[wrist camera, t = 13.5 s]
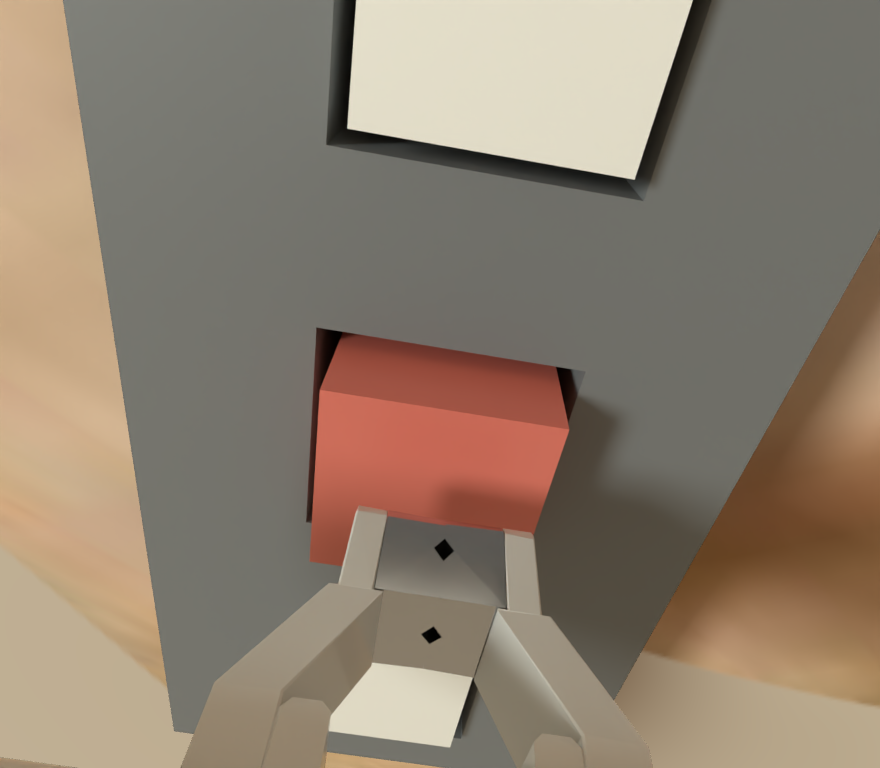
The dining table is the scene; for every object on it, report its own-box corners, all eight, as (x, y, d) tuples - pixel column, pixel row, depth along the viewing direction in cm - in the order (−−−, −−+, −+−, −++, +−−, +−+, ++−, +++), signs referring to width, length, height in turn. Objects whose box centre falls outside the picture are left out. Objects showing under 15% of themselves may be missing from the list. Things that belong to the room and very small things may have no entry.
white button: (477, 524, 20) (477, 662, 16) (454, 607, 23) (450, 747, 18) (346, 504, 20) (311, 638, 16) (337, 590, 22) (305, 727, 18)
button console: (935, -251, 10) (1246, -421, 6) (551, 648, 24) (566, 784, 20) (176, -412, 10) (-47, -717, 6) (227, 601, 24) (174, 731, 20)
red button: (542, 307, 15) (569, 429, 11) (504, 446, 17) (513, 591, 13) (364, 277, 15) (319, 389, 10) (350, 422, 17) (309, 561, 13)
